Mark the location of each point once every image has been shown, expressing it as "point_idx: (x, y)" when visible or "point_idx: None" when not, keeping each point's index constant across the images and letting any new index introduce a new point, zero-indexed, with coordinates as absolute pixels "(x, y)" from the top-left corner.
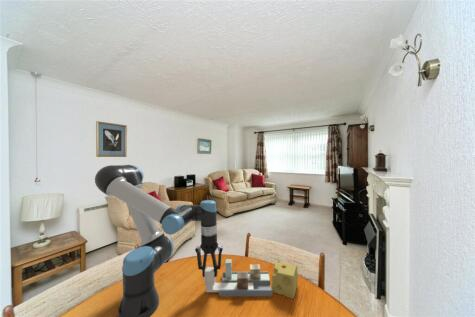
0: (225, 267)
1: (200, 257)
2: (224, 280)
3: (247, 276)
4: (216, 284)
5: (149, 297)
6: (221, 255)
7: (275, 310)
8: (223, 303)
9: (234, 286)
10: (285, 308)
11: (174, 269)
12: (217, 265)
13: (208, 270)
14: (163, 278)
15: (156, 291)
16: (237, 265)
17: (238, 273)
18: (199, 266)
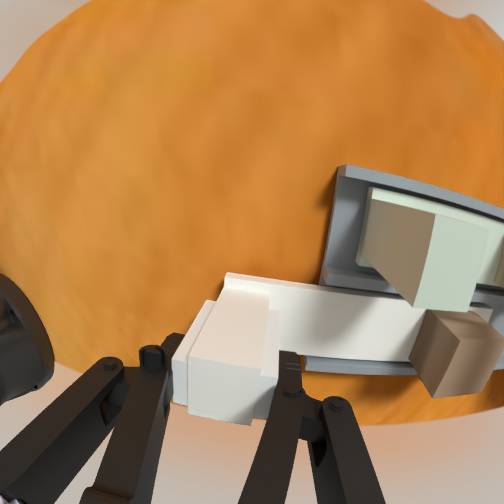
0: (394, 287)
1: (69, 456)
2: (351, 283)
3: (488, 377)
4: (288, 305)
5: (15, 389)
6: (384, 501)
7: (476, 408)
8: (318, 391)
9: (401, 335)
10: (500, 397)
11: (29, 87)
12: (308, 424)
13: (210, 408)
14: (4, 165)
15: (10, 345)
16: (435, 63)
17: (462, 349)
18: (109, 415)
